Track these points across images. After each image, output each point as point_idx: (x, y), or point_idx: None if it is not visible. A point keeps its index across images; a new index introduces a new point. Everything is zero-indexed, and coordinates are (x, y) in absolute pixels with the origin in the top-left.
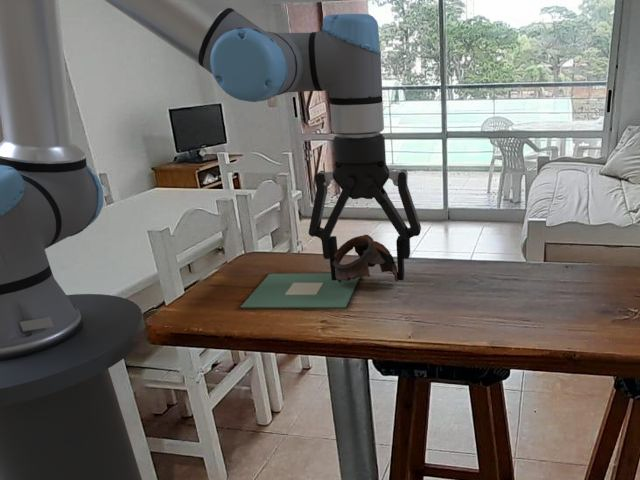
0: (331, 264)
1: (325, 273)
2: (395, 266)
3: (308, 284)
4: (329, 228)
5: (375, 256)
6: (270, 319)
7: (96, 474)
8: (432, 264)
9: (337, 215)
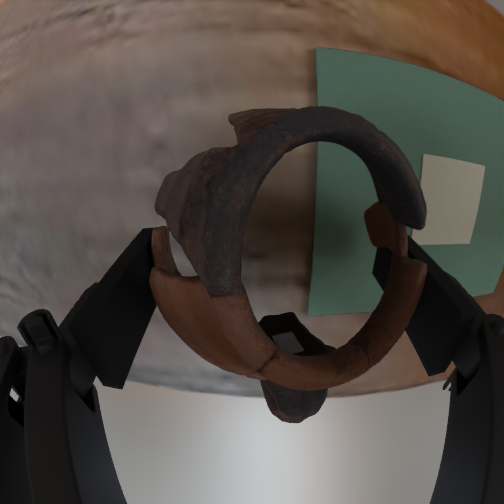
0: (419, 248)
1: None
2: (155, 266)
3: (442, 232)
4: (502, 366)
5: (191, 198)
6: (475, 36)
7: None
8: (139, 362)
9: (498, 453)
